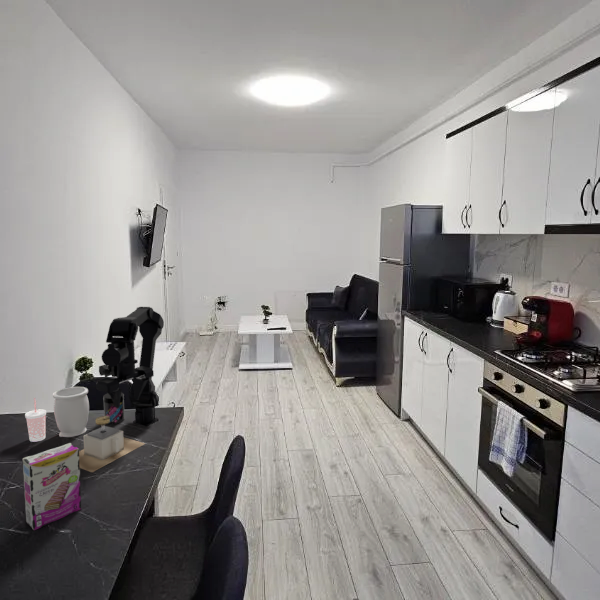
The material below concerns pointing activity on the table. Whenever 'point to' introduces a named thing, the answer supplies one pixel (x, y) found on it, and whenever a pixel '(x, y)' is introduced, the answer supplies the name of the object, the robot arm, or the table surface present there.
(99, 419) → the gold push button
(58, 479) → the candy bar box
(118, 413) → the supplement container
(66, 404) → the jar
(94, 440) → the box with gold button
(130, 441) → the serving board
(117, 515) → the table surface
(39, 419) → the beverage cup
